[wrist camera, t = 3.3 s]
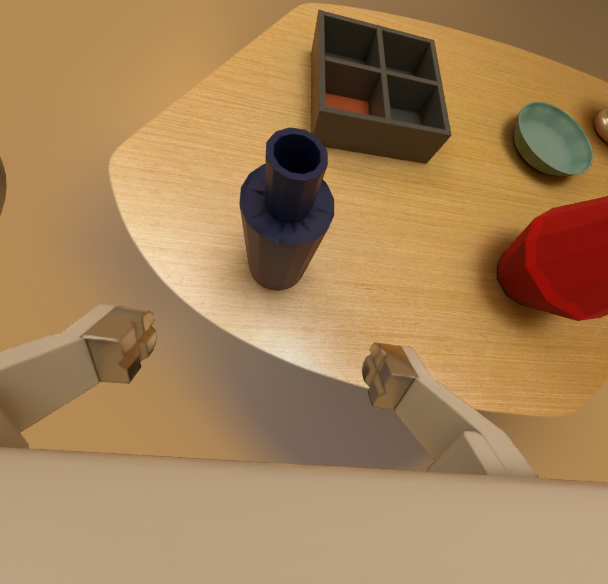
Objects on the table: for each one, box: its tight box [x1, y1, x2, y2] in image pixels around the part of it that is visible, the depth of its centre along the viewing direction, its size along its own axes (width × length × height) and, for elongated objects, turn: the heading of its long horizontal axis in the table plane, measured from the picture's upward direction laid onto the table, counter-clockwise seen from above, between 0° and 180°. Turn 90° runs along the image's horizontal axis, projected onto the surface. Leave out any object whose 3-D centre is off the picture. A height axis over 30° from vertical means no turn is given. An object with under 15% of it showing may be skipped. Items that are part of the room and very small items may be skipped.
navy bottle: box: [240, 128, 334, 290], centre depth 20 cm, size 6×6×16 cm
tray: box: [311, 10, 451, 163], centre depth 34 cm, size 18×18×5 cm
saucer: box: [514, 102, 593, 176], centre depth 40 cm, size 15×15×3 cm
